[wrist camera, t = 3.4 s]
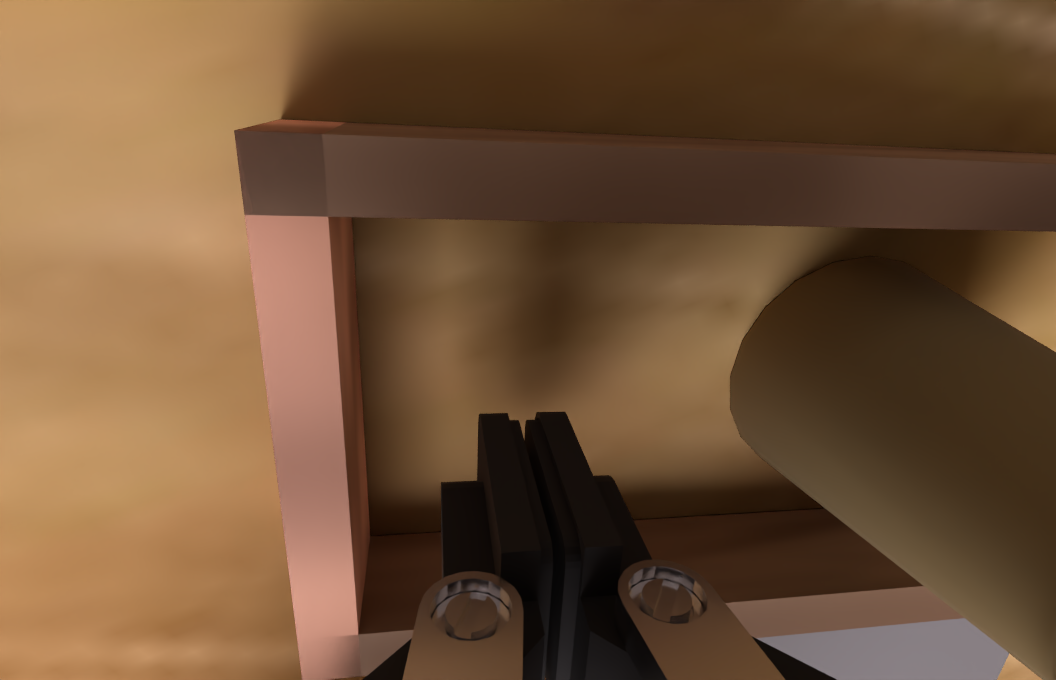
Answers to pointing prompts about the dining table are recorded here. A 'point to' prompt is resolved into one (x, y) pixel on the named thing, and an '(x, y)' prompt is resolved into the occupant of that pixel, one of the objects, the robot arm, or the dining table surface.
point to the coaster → (899, 652)
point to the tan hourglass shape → (916, 436)
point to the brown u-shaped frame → (570, 196)
